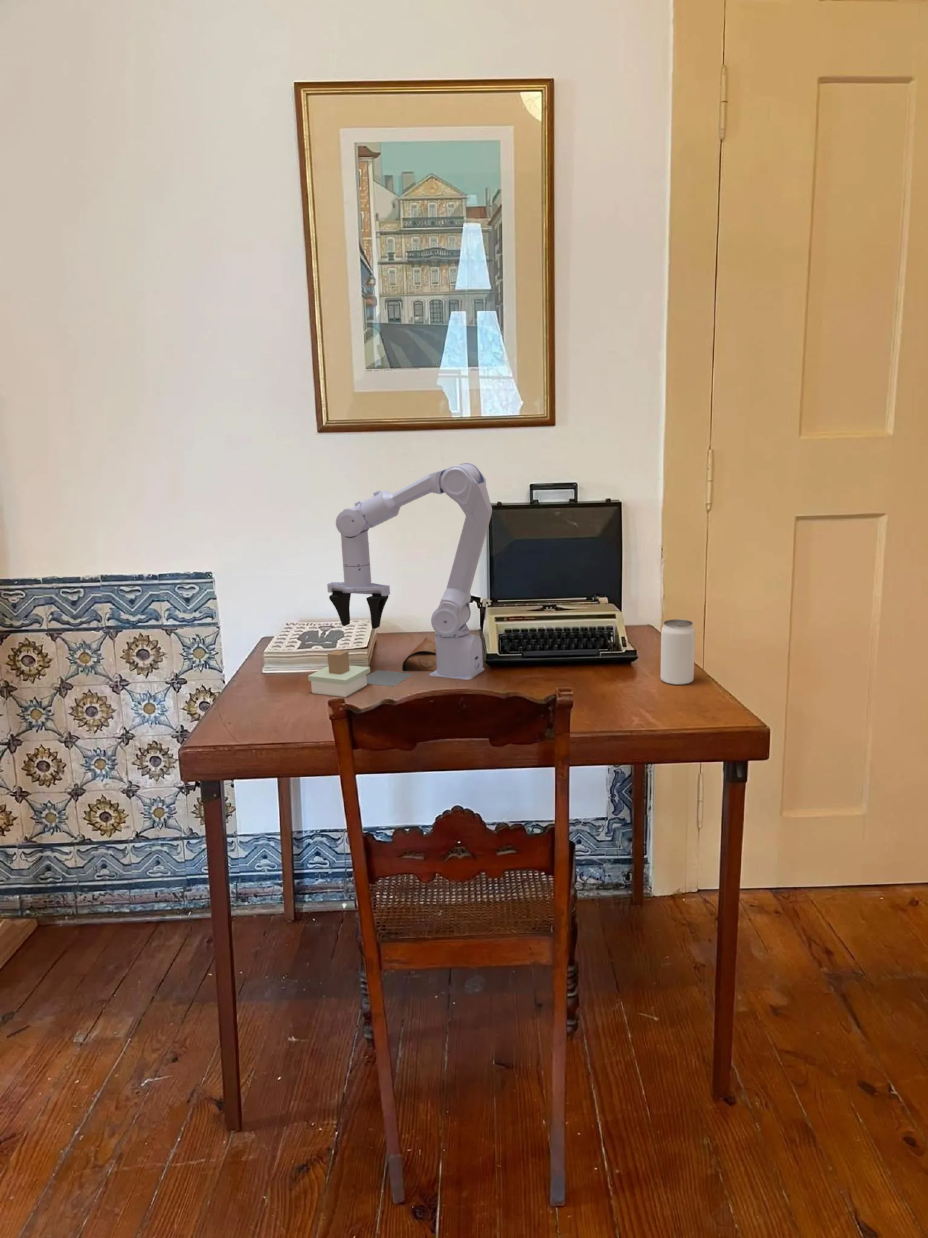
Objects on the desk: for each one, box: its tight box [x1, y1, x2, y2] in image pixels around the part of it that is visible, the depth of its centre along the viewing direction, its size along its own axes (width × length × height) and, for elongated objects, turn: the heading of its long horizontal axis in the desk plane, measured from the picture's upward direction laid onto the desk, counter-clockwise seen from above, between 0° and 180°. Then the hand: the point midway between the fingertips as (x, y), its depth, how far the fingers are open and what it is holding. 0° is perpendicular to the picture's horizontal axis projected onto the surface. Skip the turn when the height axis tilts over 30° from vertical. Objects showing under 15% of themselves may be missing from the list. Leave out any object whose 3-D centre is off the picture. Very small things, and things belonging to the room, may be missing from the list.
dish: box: [310, 674, 368, 698], centre depth 177 cm, size 8×8×3 cm
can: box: [660, 618, 696, 686], centre depth 174 cm, size 6×6×12 cm
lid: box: [307, 649, 371, 685], centre depth 176 cm, size 9×9×5 cm
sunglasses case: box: [401, 637, 437, 672], centre depth 195 cm, size 18×7×7 cm
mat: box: [366, 669, 414, 688], centre depth 183 cm, size 9×9×1 cm
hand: (360, 626), depth 188 cm, fingers open, 7 cm apart
